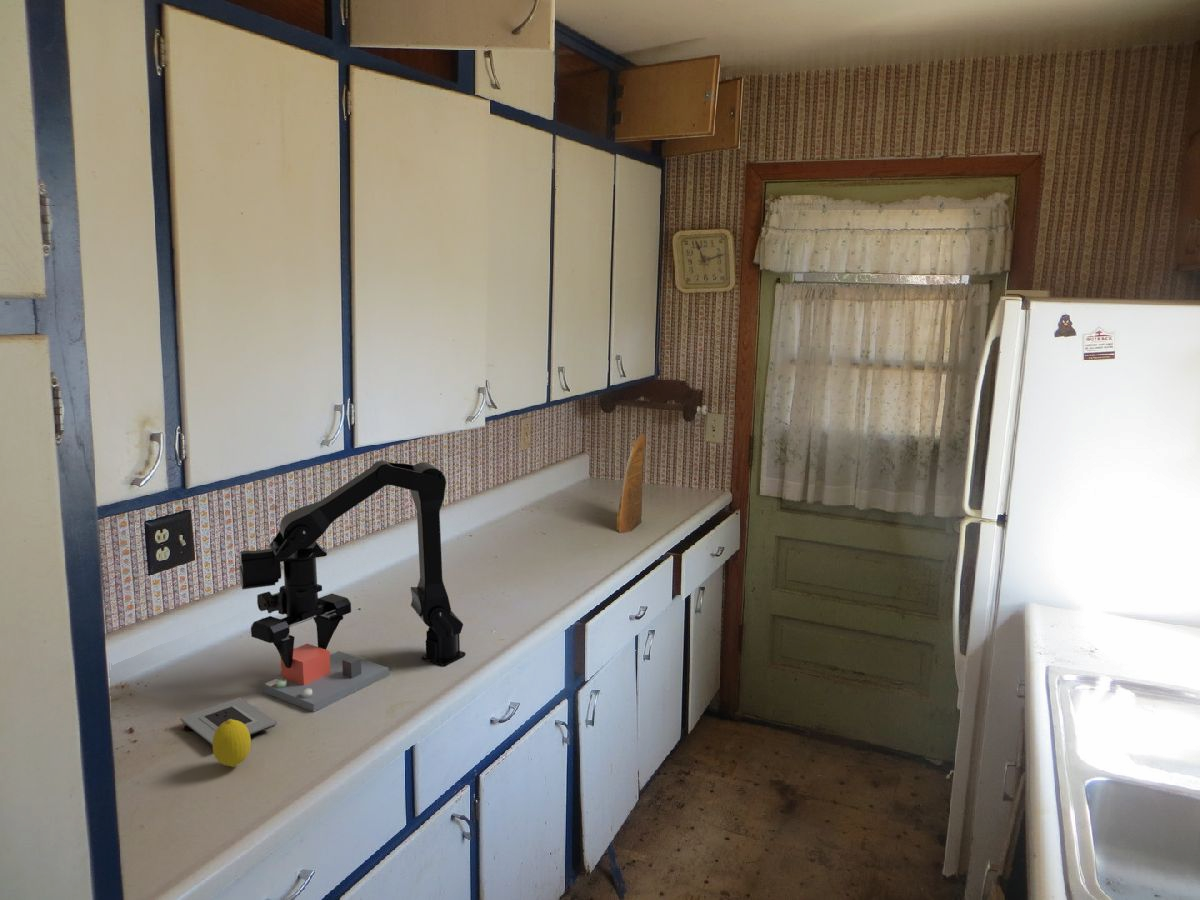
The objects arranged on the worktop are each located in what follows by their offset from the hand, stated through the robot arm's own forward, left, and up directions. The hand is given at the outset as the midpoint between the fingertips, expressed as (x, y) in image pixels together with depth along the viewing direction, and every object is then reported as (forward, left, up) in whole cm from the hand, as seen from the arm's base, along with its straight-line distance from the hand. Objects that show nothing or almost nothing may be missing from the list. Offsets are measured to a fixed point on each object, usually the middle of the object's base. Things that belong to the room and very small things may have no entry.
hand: (305, 660), depth 171 cm
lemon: (+26, +14, -5) cm, 30 cm away
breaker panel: (-2, +3, -4) cm, 6 cm away
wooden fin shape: (-127, -5, -5) cm, 127 cm away
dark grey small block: (-5, +7, -3) cm, 9 cm away
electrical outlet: (+19, +3, -5) cm, 20 cm away
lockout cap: (0, 0, -3) cm, 3 cm away
